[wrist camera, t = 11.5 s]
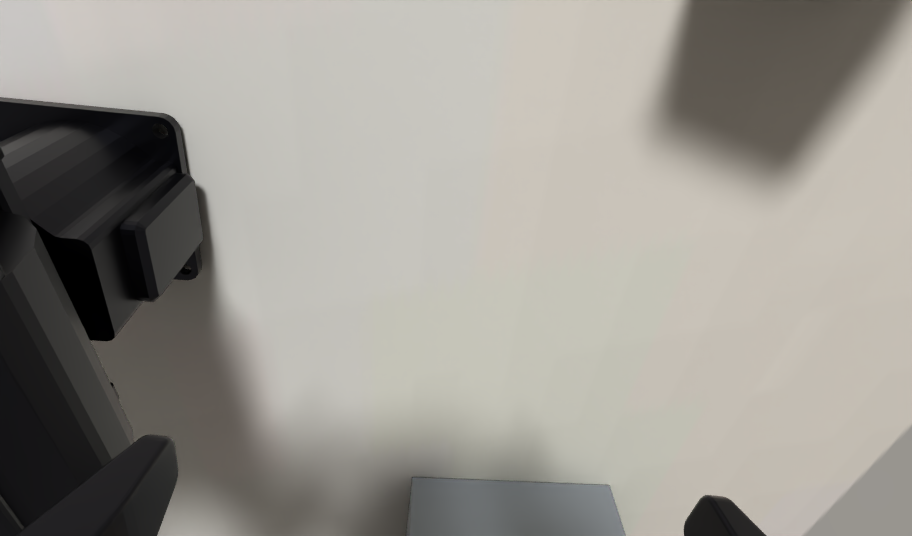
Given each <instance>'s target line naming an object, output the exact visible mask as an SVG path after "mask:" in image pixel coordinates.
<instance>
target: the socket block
mask: <svg viewBox="0 0 912 536" xmlns="http://www.w3.org/2000/svg"><path fill="white" fill-rule="evenodd" d="M406 536H626V535H625V532H624V528H623V525H622V522H621V519H620V516H619V513H618V510H617V507H616V504H615V500H614V497H613V494H612V491H611V488H610V485H591V484H567V483H542V482H518V481H493V480H469V479H445V478H420V477H412V485H411V494H410V503H409V513H408V522H407V531H406Z"/></svg>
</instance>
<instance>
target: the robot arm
mask: <svg viewBox="0 0 912 536" xmlns="http://www.w3.org/2000/svg"><path fill="white" fill-rule="evenodd" d="M158 124H161V125H164V126H165V127H166V128H167V130H168V135H165V134H162V133H161V132H160V131H159V129H158V127H157V126H158ZM202 240H203V233H202V226H201V219H200V213H199V206H198V199H197V193H196V186H195V181H194V180H193V178H192V177H191V176H190V175H189V174H187V168H186V161H185V155H184V149H183V142H182V136H181V129H180V127H179V124H178V122H177V121H176V120H175V119H174V118H173V117H171V116H170V115H167V114H164V113H155V112H145V111H135V110H125V109H115V108H104V107H94V106H84V105H74V104H64V103H53V102H43V101H33V100H23V99H13V98H2V97H0V536H157V534H158V532H159V529H160V526H161V523H162V521H163V518H164V515H165V512H166V510H167V507H168V504H169V501H170V499H171V496H172V493H173V490H174V488H175V485H176V481H177V477H178V464H177V457H176V450H175V443H174V440H173V439H172V438H171V437H168V436H158V435H145V436H143V437H141V438H140V439H138V440H137V441H136V442H134V440H133V431H132V427H131V425H130V423H129V421H128V419H127V417H126V415H125V413H124V411H123V409H122V407H121V404H120V402H119V395H118V393H117V391H116V389H115V387H114V385H113V383H111V382H110V381H109V379H108V377H107V375H106V373H105V371H104V369H103V367H102V365H101V363H100V361H99V358H98V356H97V354H96V352H95V350H94V348H93V346H92V344H91V342H90V340H96V341H110V340H112V339H113V338H115V336H116V335H117V334H118V333H119V331H120V330H121V329H122V328H123V326H124V325H125V324H126V322H127V321H128V320H129V319H130V317H131V316H132V315H133V314H134V312H135V311H136V310H137V309H138V307H139V306H140V305H141V303H142V302H154V301H155V300H156V299H158V298H159V297H160V296H161V295H162V293H163V292H164V291H165V289H166V288H167V287H168V285H169V284H170V283H171V281H172V280H173V279H178V280H192V279H194V278H196V276H197V275H198V273H199V272H200V270H201V268H202V263H201V257H200V250H199V244H200V243H201V242H202ZM184 264H187V265H188V266H190V267H191V269H190V270H189V269H186V268H185V267H183V266H184ZM684 536H766V535H765V534H764V533H763V532H762V531H761V530H760V529H759V528H758V527H757V526H756V525H755V524H754V523H753V522H752V521H751V520H750V519H749V518H748V517H747V516H746V515H745V514H744V513H743V512H742V511H741V510H740V509H739V508H738V507H737V506H736V505H735V504H734V503H733V502H732V501H731V500H730V499H728V498H726V497H721V496H712V495H705V496H703V497H702V498H701V499H700V500H699V501H698V503H697V504H696V506H695V507H694V509H693V510H692V512H691V513H690V515H689V516H688V518H687V519H686V521H685V525H684Z"/></svg>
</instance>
